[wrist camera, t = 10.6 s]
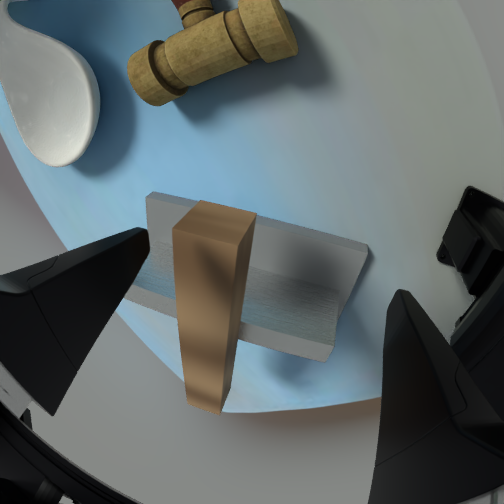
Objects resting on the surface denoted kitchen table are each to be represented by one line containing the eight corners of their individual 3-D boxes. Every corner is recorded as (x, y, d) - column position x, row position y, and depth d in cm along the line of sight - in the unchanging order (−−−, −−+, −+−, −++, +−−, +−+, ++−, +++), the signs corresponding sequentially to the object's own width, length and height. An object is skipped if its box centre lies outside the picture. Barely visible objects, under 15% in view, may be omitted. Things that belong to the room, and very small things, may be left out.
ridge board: (367, 244, 21) (367, 253, 20) (329, 329, 27) (328, 338, 26) (153, 191, 24) (145, 197, 23) (159, 279, 30) (153, 286, 29)
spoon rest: (140, 121, 21) (77, 145, 15) (68, 172, 26) (19, 202, 20) (71, -50, 10) (19, -55, 5) (14, 18, 15) (-32, 27, 10)
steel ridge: (339, 290, 23) (334, 346, 18) (331, 307, 24) (325, 362, 19) (157, 239, 25) (120, 279, 20) (158, 257, 26) (124, 298, 21)
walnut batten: (230, 388, 25) (219, 415, 22) (199, 378, 25) (187, 403, 23) (256, 213, 14) (237, 245, 12) (200, 200, 15) (171, 228, 12)
